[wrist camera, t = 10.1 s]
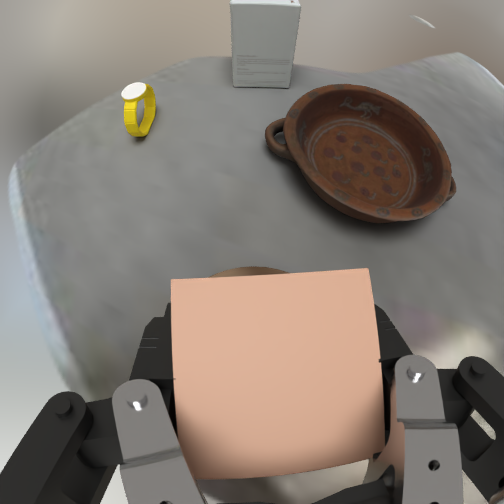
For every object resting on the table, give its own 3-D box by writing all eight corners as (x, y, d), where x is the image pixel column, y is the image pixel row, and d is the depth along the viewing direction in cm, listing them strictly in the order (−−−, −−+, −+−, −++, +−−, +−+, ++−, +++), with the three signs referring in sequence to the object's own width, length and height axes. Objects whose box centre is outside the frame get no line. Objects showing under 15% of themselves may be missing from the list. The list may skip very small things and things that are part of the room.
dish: (276, 95, 35) (279, 65, 30) (434, 139, 34) (451, 116, 29) (247, 215, 29) (248, 187, 24) (449, 260, 28) (477, 243, 23)
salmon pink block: (205, 320, 15) (170, 279, 8) (307, 314, 15) (368, 267, 8) (211, 421, 13) (183, 478, 6) (315, 412, 14) (384, 454, 6)
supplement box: (285, 59, 37) (295, -15, 25) (289, 90, 35) (302, 6, 23) (233, 57, 37) (233, -18, 25) (231, 88, 35) (229, 2, 23)
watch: (150, 145, 31) (135, 111, 26) (128, 145, 32) (111, 112, 26) (164, 106, 33) (153, 72, 27) (143, 107, 33) (130, 73, 27)
